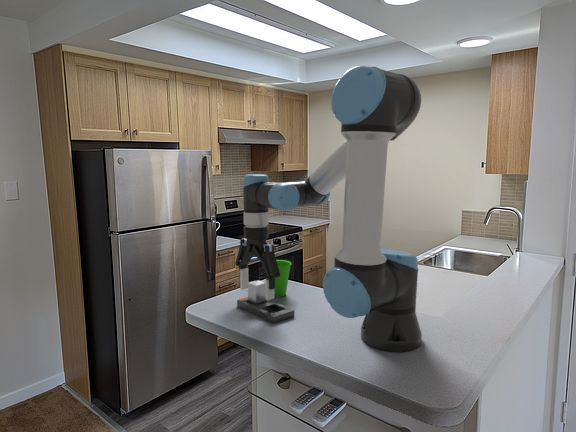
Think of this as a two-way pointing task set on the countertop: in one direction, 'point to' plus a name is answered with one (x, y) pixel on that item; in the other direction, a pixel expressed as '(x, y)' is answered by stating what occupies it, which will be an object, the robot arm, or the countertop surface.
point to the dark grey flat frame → (267, 310)
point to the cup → (282, 278)
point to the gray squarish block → (256, 292)
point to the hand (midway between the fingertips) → (256, 293)
